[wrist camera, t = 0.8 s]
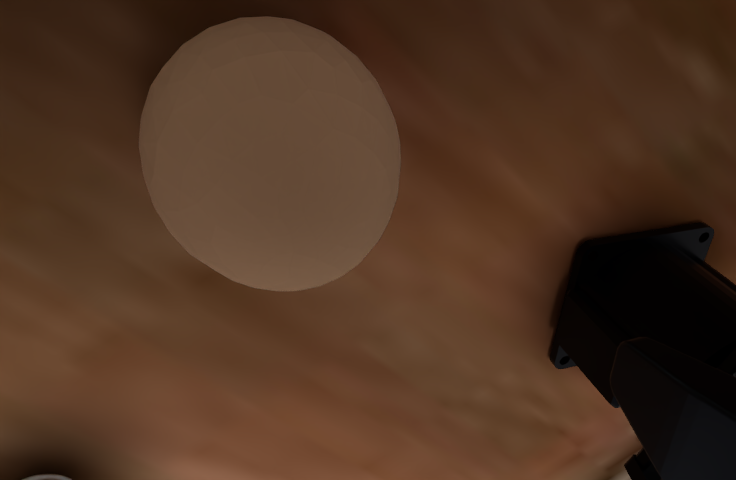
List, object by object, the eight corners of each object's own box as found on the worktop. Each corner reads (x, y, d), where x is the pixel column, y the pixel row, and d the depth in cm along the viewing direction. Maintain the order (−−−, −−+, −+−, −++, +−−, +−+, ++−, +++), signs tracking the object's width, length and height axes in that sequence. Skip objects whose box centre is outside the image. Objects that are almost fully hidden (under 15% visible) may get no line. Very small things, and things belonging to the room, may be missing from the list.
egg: (326, -36, 18) (450, 48, 11) (358, 160, 21) (468, 309, 15) (98, 16, 17) (96, 142, 10) (172, 214, 20) (205, 399, 14)
